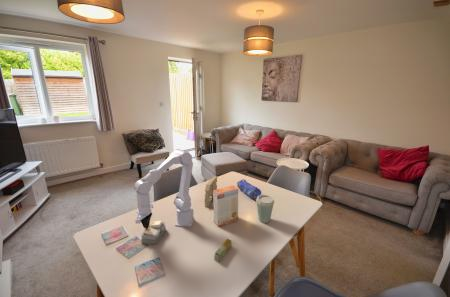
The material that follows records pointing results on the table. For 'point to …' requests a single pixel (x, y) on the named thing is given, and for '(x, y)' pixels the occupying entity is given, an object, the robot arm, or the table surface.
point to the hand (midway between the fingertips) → (146, 227)
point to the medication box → (222, 250)
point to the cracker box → (225, 205)
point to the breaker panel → (153, 238)
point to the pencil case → (249, 189)
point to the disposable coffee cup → (264, 207)
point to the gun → (210, 190)
